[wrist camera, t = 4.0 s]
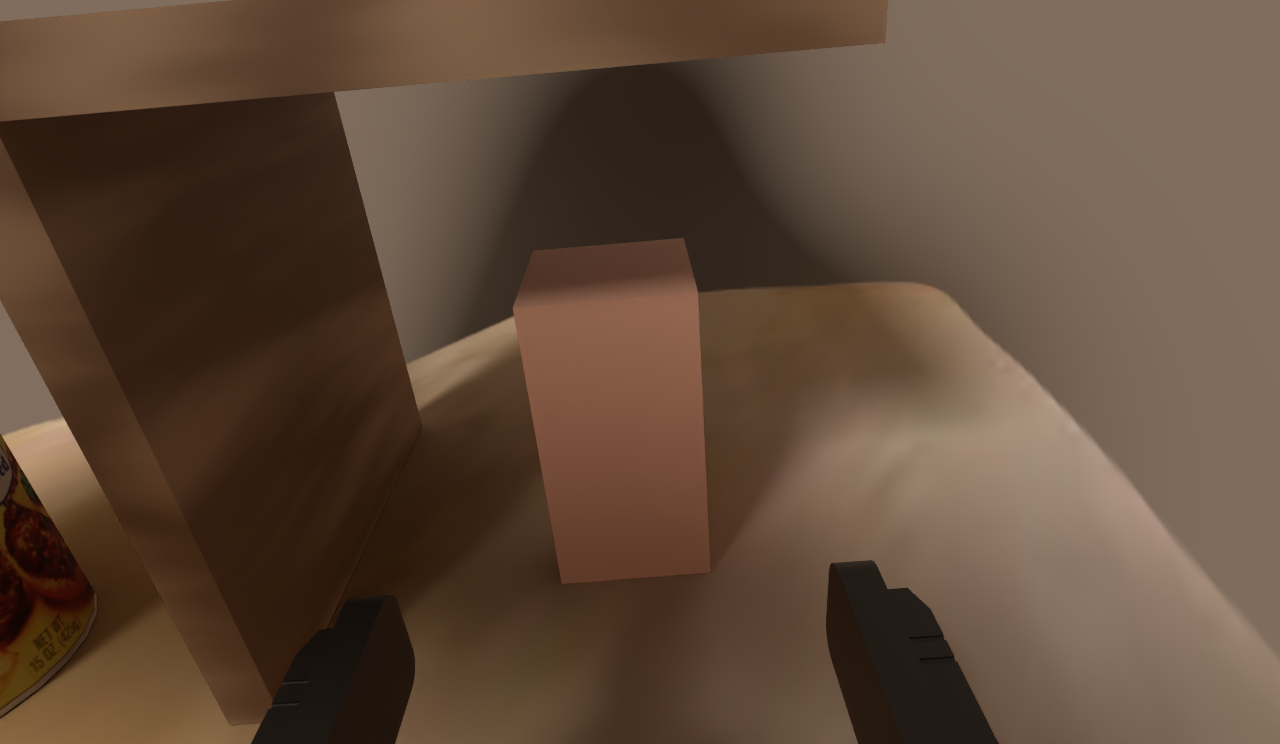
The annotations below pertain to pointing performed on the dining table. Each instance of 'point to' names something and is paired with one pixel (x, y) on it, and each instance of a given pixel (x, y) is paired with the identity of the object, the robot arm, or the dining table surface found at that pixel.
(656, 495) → the terracotta block
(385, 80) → the shelf nook
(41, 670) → the canned food
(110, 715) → the dining table surface
